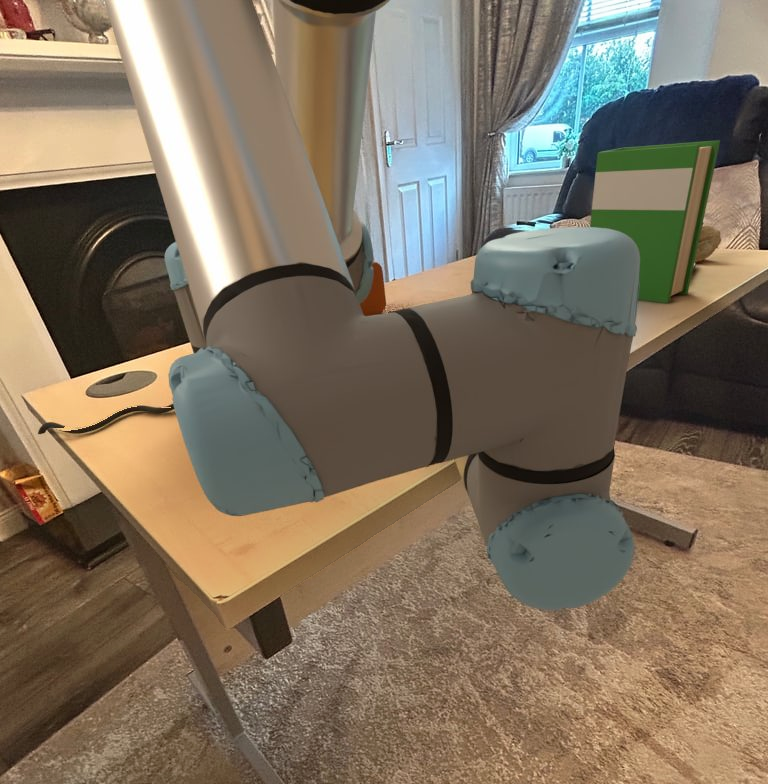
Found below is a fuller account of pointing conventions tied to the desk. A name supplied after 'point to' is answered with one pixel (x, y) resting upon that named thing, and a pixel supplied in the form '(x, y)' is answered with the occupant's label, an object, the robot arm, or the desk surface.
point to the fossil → (707, 242)
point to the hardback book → (657, 208)
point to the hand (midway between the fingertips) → (451, 355)
